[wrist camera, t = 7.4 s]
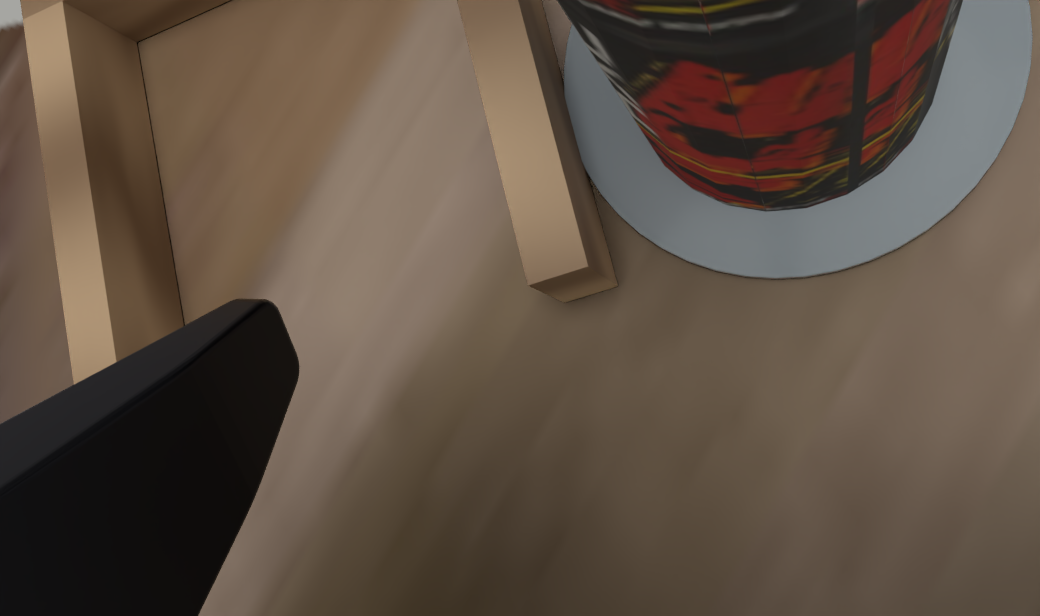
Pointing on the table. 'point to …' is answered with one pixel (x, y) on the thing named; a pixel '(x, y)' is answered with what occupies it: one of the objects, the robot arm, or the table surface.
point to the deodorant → (772, 87)
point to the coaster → (839, 222)
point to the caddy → (136, 185)
